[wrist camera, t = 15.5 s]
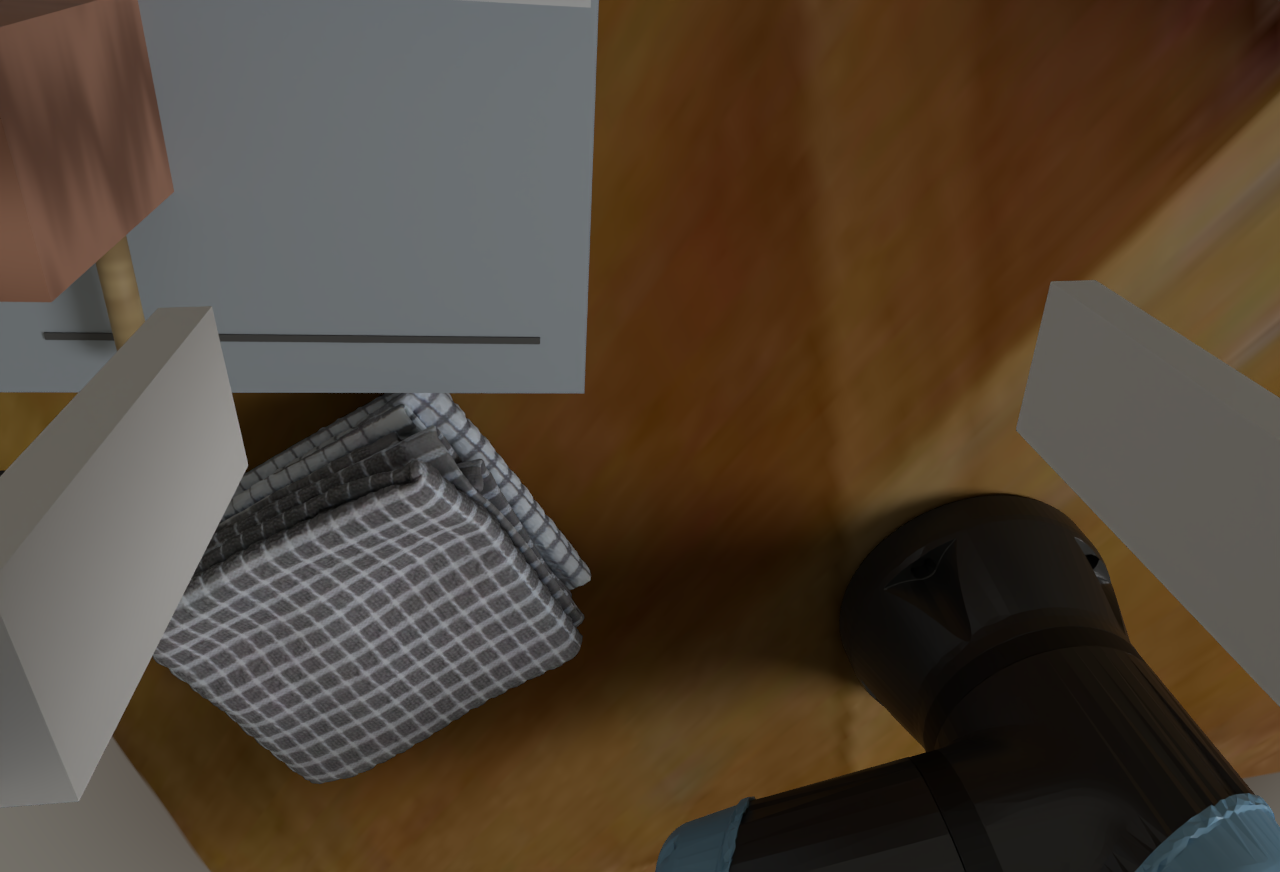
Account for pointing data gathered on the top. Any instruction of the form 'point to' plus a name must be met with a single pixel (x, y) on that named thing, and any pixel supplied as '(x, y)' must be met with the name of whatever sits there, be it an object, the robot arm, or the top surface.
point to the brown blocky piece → (76, 150)
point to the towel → (374, 589)
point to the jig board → (358, 199)
